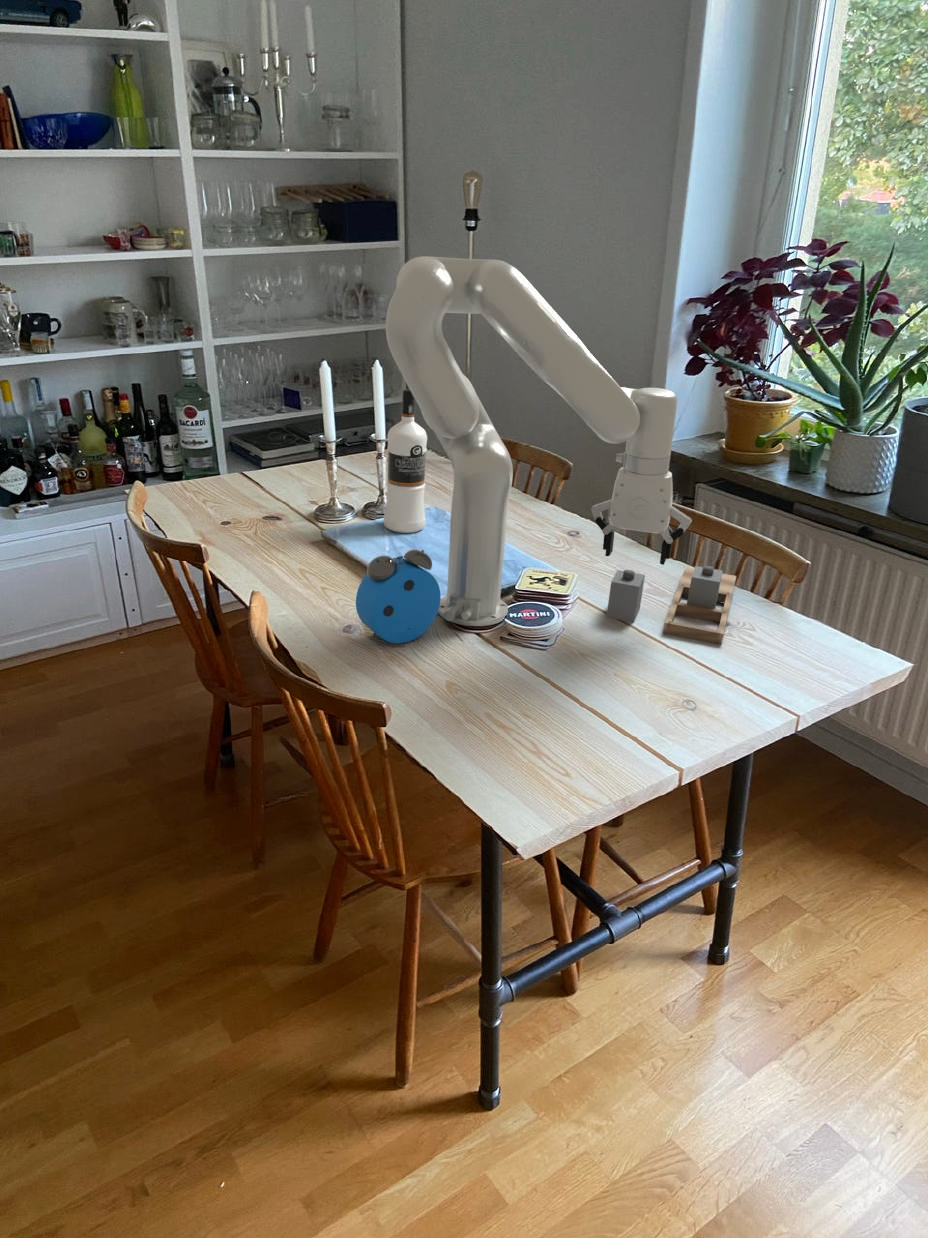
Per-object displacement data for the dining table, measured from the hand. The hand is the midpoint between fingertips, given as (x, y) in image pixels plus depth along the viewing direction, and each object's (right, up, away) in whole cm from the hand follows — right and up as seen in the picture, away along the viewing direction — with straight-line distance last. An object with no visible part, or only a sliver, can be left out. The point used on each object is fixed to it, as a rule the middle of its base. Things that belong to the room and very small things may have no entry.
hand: (635, 557), depth 161 cm
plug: (-1, -10, +5) cm, 11 cm away
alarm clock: (-42, -14, -9) cm, 45 cm away
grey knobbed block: (+14, -9, +9) cm, 19 cm away
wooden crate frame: (+14, -9, +9) cm, 19 cm away
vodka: (-44, +9, +39) cm, 59 cm away
